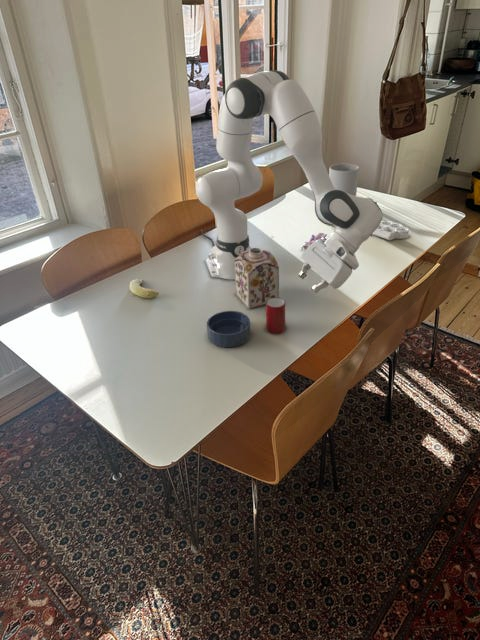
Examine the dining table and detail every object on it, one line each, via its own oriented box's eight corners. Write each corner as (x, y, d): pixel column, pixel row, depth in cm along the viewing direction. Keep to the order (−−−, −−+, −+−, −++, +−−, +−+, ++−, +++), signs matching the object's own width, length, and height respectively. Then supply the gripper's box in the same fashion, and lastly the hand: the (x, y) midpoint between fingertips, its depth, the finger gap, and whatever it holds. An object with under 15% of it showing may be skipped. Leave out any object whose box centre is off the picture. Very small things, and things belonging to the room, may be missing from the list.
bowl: (202, 330, 144) (200, 317, 141) (240, 320, 148) (239, 306, 145) (217, 353, 134) (216, 339, 131) (257, 341, 138) (257, 327, 135)
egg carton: (359, 232, 203) (379, 223, 210) (394, 244, 191) (414, 234, 199) (360, 225, 201) (380, 216, 208) (395, 236, 189) (415, 226, 197)
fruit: (140, 304, 159) (139, 295, 157) (124, 286, 170) (123, 279, 168) (159, 297, 162) (158, 289, 160) (143, 281, 173) (141, 273, 171)
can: (263, 326, 145) (262, 300, 139) (279, 321, 146) (279, 295, 141) (271, 335, 140) (271, 309, 135) (288, 330, 142) (289, 304, 137)
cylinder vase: (333, 215, 221) (337, 162, 207) (357, 220, 215) (363, 165, 201) (321, 223, 213) (324, 169, 199) (346, 229, 206) (351, 172, 193)
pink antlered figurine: (310, 256, 188) (331, 239, 195) (309, 243, 184) (331, 226, 191) (298, 252, 191) (319, 235, 199) (297, 239, 188) (319, 223, 195)
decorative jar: (235, 294, 162) (232, 247, 152) (264, 286, 166) (264, 240, 156) (248, 310, 153) (247, 261, 143) (280, 301, 156) (280, 253, 147)
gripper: (316, 230, 142) (286, 264, 145) (349, 257, 125) (315, 294, 128) (328, 241, 145) (299, 274, 148) (362, 268, 129) (328, 305, 132)
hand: (306, 284), depth 138 cm, fingers open, 8 cm apart
